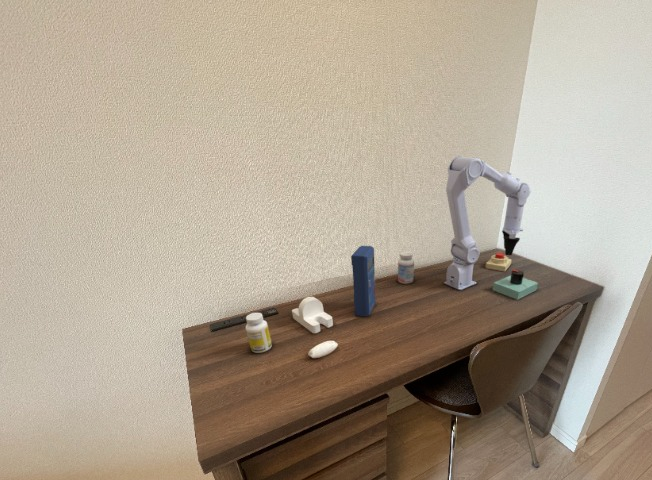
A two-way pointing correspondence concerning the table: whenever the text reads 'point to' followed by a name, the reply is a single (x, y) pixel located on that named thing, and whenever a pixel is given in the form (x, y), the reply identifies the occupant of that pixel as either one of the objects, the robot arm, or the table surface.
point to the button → (499, 255)
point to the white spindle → (323, 349)
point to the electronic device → (363, 280)
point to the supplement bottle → (258, 333)
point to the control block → (498, 263)
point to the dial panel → (515, 287)
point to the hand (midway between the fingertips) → (507, 251)
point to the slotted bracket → (312, 315)
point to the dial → (516, 277)
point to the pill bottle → (405, 268)
